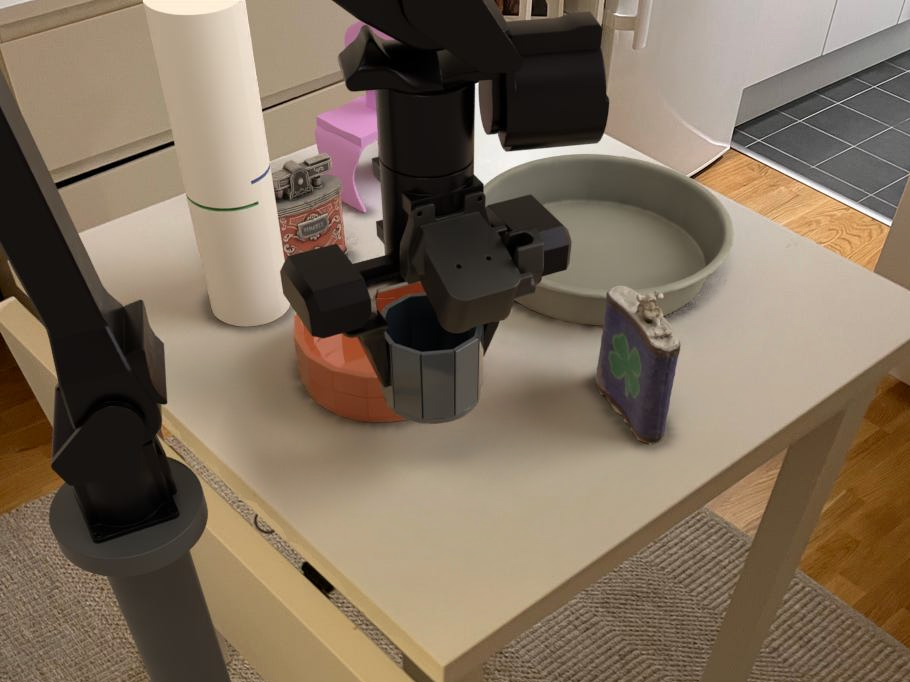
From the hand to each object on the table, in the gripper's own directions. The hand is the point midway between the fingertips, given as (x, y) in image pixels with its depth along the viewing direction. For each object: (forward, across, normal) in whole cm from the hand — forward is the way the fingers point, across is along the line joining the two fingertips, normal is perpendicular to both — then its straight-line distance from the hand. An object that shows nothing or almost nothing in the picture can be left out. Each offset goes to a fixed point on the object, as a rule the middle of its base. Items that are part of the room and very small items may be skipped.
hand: (431, 369), depth 72 cm
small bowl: (+2, 0, 0) cm, 2 cm away
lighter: (+8, +1, +29) cm, 30 cm away
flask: (+8, +17, -2) cm, 19 cm away
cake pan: (+8, +26, +18) cm, 33 cm away
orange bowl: (+8, +1, +12) cm, 15 cm away
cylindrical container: (+8, -6, +26) cm, 28 cm away
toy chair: (+8, +12, +40) cm, 43 cm away
